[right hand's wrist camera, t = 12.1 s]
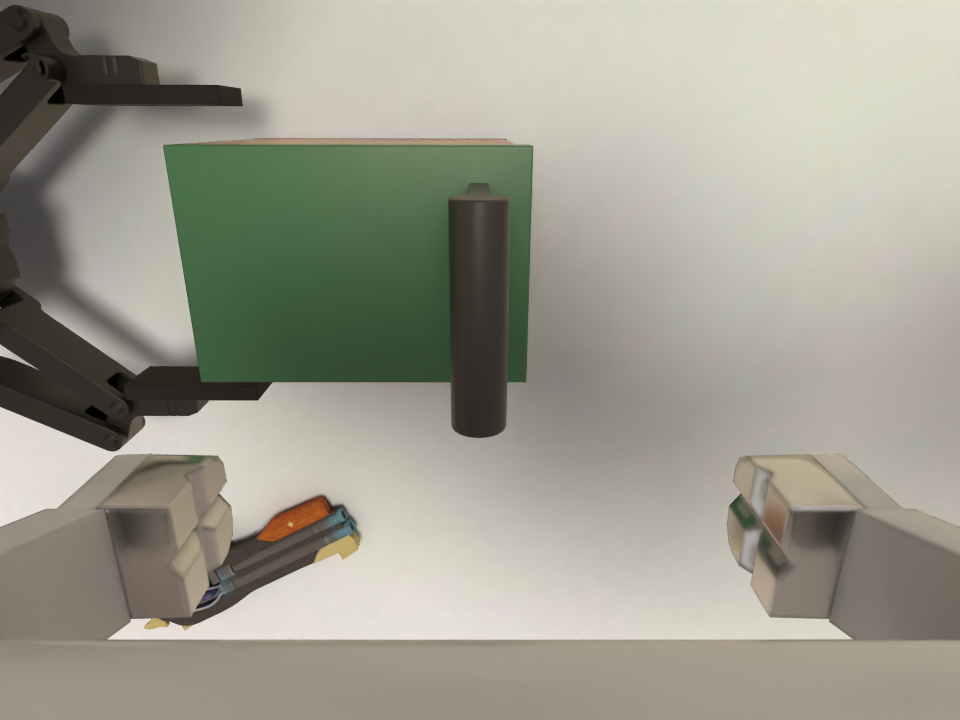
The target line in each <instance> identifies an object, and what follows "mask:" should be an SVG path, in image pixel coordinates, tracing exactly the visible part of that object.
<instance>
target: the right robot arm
mask: <svg viewBox="0 0 960 720" xmlns="http://www.w3.org/2000/svg"><path fill="white" fill-rule="evenodd" d="M226 482H227V479H226V474H225V469H224V464H223V462H222V460H221V459H220V458H219V457H218V456H206V455H153V454H129V455H116V456H115V457H114V458H113V459H112V460H111V461H109V462H108V463H107V464H106V465H105V466H104V467H103V468H102V469H100V470H99V471H98V472H97V473H96V474H95V475H94V476H93V477H92V478H90V479H89V480H88V481H87V482H86V483H85V484H84V485H83V486H82V487H80V488H79V489H78V490H77V491H76V492H75V493H74V494H73V495H71V496H70V497H69V498H68V499H67V500H66V501H65V502H64V503H63V504H61V505H60V506H59V507H58V508H57V509H45V510H42V511H40V512H37V513H35V514H32V515H30V516H27V517H25V518H22V519H19V520H17V521H14V522H12V523H9V524H7V525H4V526H2V527H0V720H960V527H958V526H955V525H953V524H950V523H948V522H945V521H943V520H940V519H938V518H935V517H933V516H930V515H928V514H925V513H923V512H920V511H918V510H915V509H903V508H902V507H901V506H900V505H899V504H897V503H896V502H895V501H894V500H893V499H892V498H891V497H890V496H889V495H887V494H886V493H885V492H884V491H883V490H882V489H881V488H880V487H879V486H877V485H876V484H875V483H874V482H873V481H872V480H871V479H870V478H869V477H867V476H866V475H865V474H864V473H863V472H862V471H861V470H860V469H859V468H857V467H856V466H855V465H854V464H853V463H852V462H851V461H850V460H849V459H847V458H846V457H845V456H842V455H839V454H819V455H810V454H805V455H763V456H744V457H740V458H739V460H738V462H737V465H736V467H735V473H734V479H733V482H734V483H735V485H736V487H737V488H738V490H739V491H740V493H741V494H740V495H739V496H738V497H737V498H736V499H735V500H734V501H733V502H732V503H731V504H730V505H729V511H728V520H727V531H728V541H729V545H730V548H731V551H732V554H733V556H734V558H735V559H736V561H737V563H738V565H739V566H741V567H742V568H744V569H745V570H747V571H749V572H750V573H752V580H751V587H752V589H753V590H754V592H755V594H756V595H757V597H758V599H759V600H760V602H761V604H762V605H763V607H764V609H765V610H766V612H767V614H768V616H769V617H778V618H815V619H830V620H829V622H831V623H832V624H833V625H835V626H836V627H837V628H839V629H840V630H841V631H843V632H844V633H845V634H847V635H848V636H849V637H851V638H852V639H854V640H107V639H108V638H109V637H111V636H112V635H113V634H115V633H116V632H117V631H119V630H120V629H122V628H123V627H124V626H126V625H127V624H128V623H130V621H131V620H130V619H144V618H180V617H191V616H192V614H193V612H194V611H195V609H196V607H197V606H198V604H199V602H200V600H201V599H202V597H203V595H204V594H205V592H206V590H207V589H208V587H209V580H208V573H210V572H211V571H213V570H215V569H216V568H218V567H219V566H221V565H222V563H223V561H224V559H225V558H226V556H227V554H228V551H229V547H230V543H231V539H232V535H233V517H232V510H231V506H230V504H229V503H228V502H227V501H226V500H225V499H224V498H223V497H222V496H221V495H220V494H219V493H220V491H221V490H222V488H223V487H224V485H225V483H226Z"/></svg>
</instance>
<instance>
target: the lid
mask: <svg viewBox="0 0 960 720" xmlns="http://www.w3.org/2000/svg"><path fill="white" fill-rule="evenodd" d="M163 148H164V154H165V160H166V166H167V173H168V179H169V185H170V191H171V197H172V204H173V210H174V216H175V222H176V228H177V235H178V241H179V247H180V253H181V259H182V265H183V272H184V278H185V284H186V290H187V296H188V303H189V309H190V315H191V321H192V327H193V334H194V340H195V346H196V352H197V358H198V365H199V371H200V377H201V382H451V423H452V428H453V429H454V431H455V432H457V433H459V434H461V435H463V436H467V437H474V438H484V437H491V436H494V435H497V434H499V433H501V432H502V431H503V430H504V429H505V427H506V407H507V382H526V372H527V338H528V304H529V269H530V235H531V200H532V166H533V146H531V145H400V144H171V145H164V146H163Z"/></svg>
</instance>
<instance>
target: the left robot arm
mask: <svg viewBox="0 0 960 720" xmlns="http://www.w3.org/2000/svg"><path fill="white" fill-rule="evenodd" d="M69 35H70V34H69V28H68V25H67V23H66V22H65V21H64V20H63V19H62V18H61V17H59V16H57V15H54V14H50V13H46V12H42V11H38V10H34V9H30V8H27V7H23V6H18V5H13V6H10V7H8V8H6V9H5V10H3V11H1V12H0V83H1V82H3V81H4V80H6V79H7V78H9V77H11V76H12V75H14V74H16V73H17V72H19V71H20V70H22V69H23V70H22V71H21V72H20V73H19V75H18V76H17V77H16V78H15V79H14V80H13V82H12V83H11V84H10V85H9V86H8V87H7V88H6V90H5V91H4V92H3V93H2V94H1V95H0V191H1V190H2V189H3V188H4V187H5V186H6V185H7V184H8V182H9V181H10V177H9V174H10V173H11V172H12V171H13V170H14V169H15V167H16V166H17V165H18V164H19V163H20V162H21V161H22V160H23V159H24V157H25V156H26V155H27V154H28V153H29V152H30V151H31V150H32V149H33V148H34V146H35V145H36V144H37V143H38V142H39V141H40V140H41V139H42V138H43V136H44V135H45V134H46V133H47V132H48V131H49V130H50V129H51V128H52V126H53V125H54V124H55V123H56V122H57V121H58V120H59V119H60V118H61V116H62V115H63V114H64V113H65V112H66V111H67V110H68V109H69V108H70V106H71V105H72V104H81V105H102V106H243V105H242V96H241V88H234V87H227V86H220V85H160V83H159V76H158V70H157V64H156V63H153V62H151V61H148V60H146V59H143V58H137V57H132V56H96V55H80V54H79V53H78V52H77V51H76V50H75V49H74V47H73V46H72V44H71V42H70V40H69ZM8 234H9V229H8V225H7V221H6V217H5V214H0V307H1V309H0V344H1V345H2V346H4V347H5V348H7V349H8V350H10V351H11V352H13V353H14V354H16V355H17V356H19V357H20V358H22V359H23V360H25V361H26V362H28V363H29V364H31V365H32V366H34V367H36V368H37V369H39V370H37V369H35V368H33V367H30V366H28V365H25V364H23V363H21V362H18V361H15V360H13V359H10V358H6V357H2V356H0V407H2V408H4V409H7V410H9V411H12V412H14V413H17V414H19V415H22V416H24V417H26V418H29V419H31V420H34V421H36V422H39V423H41V424H44V425H46V426H49V427H51V428H54V429H56V430H58V431H61V432H63V433H66V434H68V435H71V436H73V437H76V438H78V439H81V440H83V441H86V442H88V443H90V444H93V445H95V446H98V447H100V448H103V449H105V450H108V451H117V450H119V449H120V448H121V447H122V446H124V445H125V444H126V443H127V442H128V441H129V440H130V439H131V438H132V437H134V436H135V435H136V434H137V433H138V432H139V431H140V430H141V429H142V428H143V427H144V426H145V419H144V417H143V416H169V415H170V416H177V415H178V416H189V415H192V414H195V413H197V412H199V411H200V410H201V409H202V408H203V406H204V405H205V404H206V403H207V402H208V401H209V400H259V398H260V397H261V396H262V395H263V393H264V392H265V391H266V390H267V388H268V387H269V386H270V385H271V383H272V382H201V377H200V371H199V366H150V367H149V368H147V369H146V370H144V371H143V372H142V373H140V374H139V375H138V376H136V375H135V374H133V373H132V372H131V371H129V370H128V369H126V368H125V367H123V366H122V365H120V364H119V363H117V362H116V361H115V360H113V359H112V358H110V357H109V356H107V355H106V354H104V353H103V352H101V351H100V350H98V349H97V348H96V347H94V346H93V345H91V344H90V343H88V342H87V341H85V340H84V339H82V338H81V337H79V336H78V335H77V334H75V333H74V332H72V331H71V330H69V329H68V328H66V327H65V326H63V325H62V324H60V323H59V322H58V321H56V320H55V319H53V318H52V317H50V316H49V315H47V314H46V313H44V312H43V311H42V310H41V305H40V303H39V302H38V301H37V300H36V299H34V298H33V297H31V296H30V295H28V294H27V293H25V292H24V291H22V290H21V289H20V288H18V287H17V286H15V285H14V283H15V278H18V277H20V273H19V269H18V265H17V262H16V260H15V258H14V256H13V254H12V252H11V250H10V248H9V246H8Z"/></svg>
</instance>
